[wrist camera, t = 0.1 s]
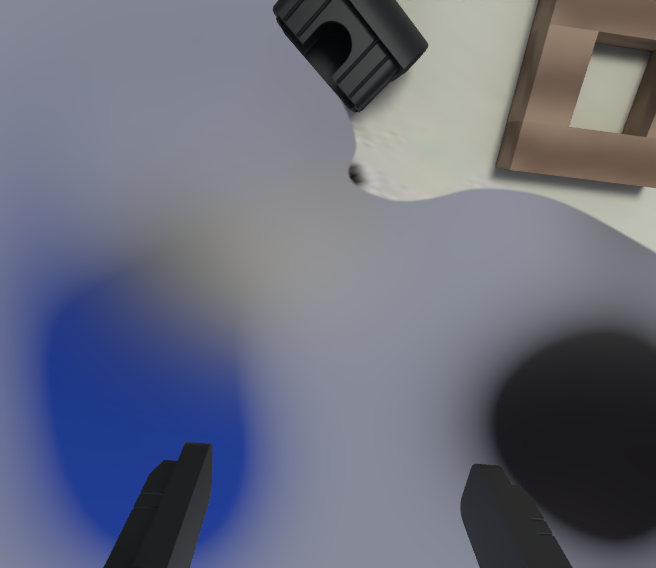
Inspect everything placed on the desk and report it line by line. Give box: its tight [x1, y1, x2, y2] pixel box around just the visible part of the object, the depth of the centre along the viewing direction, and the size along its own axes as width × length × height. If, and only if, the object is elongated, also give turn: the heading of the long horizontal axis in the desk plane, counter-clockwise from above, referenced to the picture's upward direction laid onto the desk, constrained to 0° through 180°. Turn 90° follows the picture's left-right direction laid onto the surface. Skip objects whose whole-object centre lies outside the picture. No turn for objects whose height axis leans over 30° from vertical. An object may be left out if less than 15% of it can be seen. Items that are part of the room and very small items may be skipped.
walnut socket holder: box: [496, 0, 656, 188], centre depth 34 cm, size 15×15×3 cm
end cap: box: [273, 0, 428, 112], centre depth 30 cm, size 10×7×7 cm
